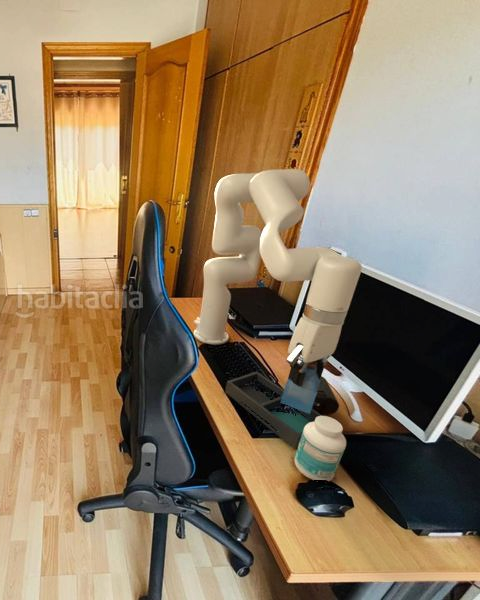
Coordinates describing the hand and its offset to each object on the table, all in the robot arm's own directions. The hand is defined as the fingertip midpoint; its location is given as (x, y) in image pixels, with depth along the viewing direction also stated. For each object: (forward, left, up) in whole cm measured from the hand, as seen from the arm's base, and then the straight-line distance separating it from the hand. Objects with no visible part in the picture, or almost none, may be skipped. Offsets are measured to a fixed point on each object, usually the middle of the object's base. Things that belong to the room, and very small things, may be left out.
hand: (304, 379), depth 79 cm
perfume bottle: (0, 0, -7) cm, 7 cm away
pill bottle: (+11, -7, -15) cm, 20 cm away
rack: (-5, 0, -15) cm, 16 cm away
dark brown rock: (-3, +13, -15) cm, 20 cm away
